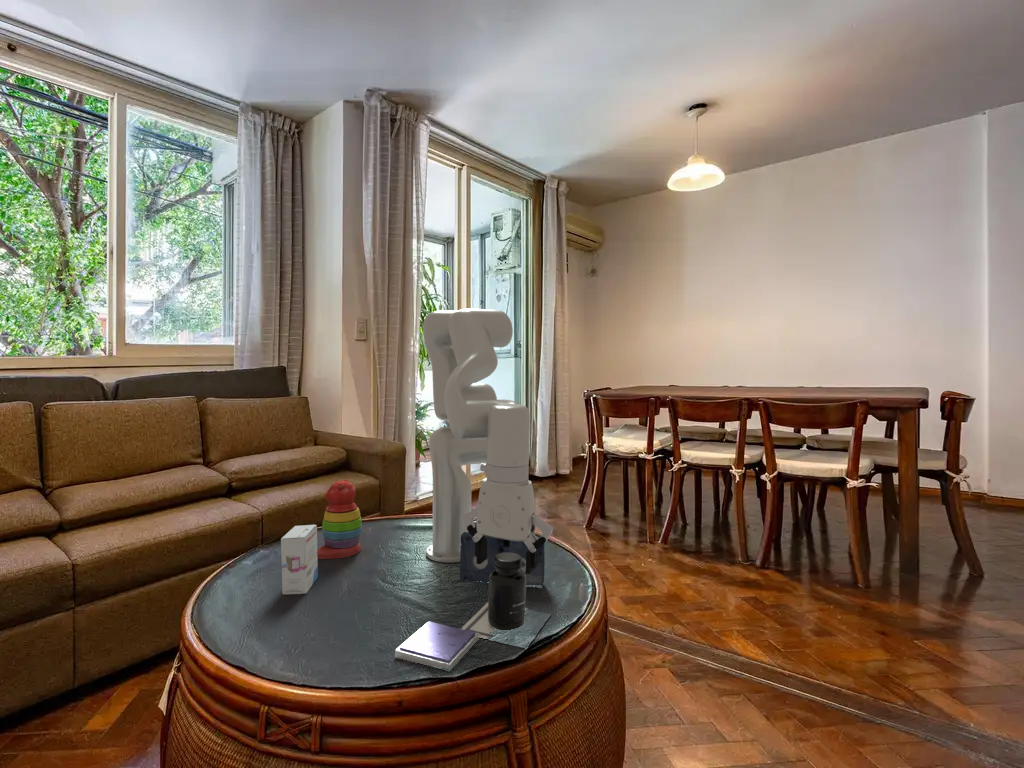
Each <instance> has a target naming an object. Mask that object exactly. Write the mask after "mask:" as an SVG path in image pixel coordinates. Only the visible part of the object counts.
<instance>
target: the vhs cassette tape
mask: <svg viewBox="0 0 1024 768" xmlns="http://www.w3.org/2000/svg"><path fill="white" fill-rule="evenodd" d="M485 538H487V559H486V560H485V561H484V562H482V563H481V564H477V563H476V559H477V557H475V542H474V541H473V537H472V536H471V534H470V533H468V532H464V533H463V534H462V535H461V544H462V545H461V547H460V548H461V550H460V555H461V557H460V562H459V569H460V570H459V572H460V573H459V579H460V581H463V580H467V581H466V582H472V581H479V582H478V583H482V582H489V575H490V573H491V572H492V571H493V570H494V569H495V567H494V563H495V556H496V555H497V554H500V553H507V552H508V553H515V554H518V555H520V556H521V570H522V571H523V572H524V573H525V575H526V585H541V586H542V585H543V583H544V584H545V566H546V565H545V564H546V563H545V559H546V557H545V543H544V544H543V545H542V546H541V547H540V548H538V565H537V567H536V568H535V569H534V570H533V571H532V572H531V573H530V574H527V573H526V552H527V551H528V550H529V549H528V547H527V546H526V545H525V543H524V542H523V541H521V542H518V541H511V540H505V539H499V538H494V537H488V536H485ZM480 581H482V582H480ZM543 586H544V585H543Z"/></svg>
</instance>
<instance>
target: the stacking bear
mask: <svg viewBox="0 0 1024 768" xmlns="http://www.w3.org/2000/svg"><path fill="white" fill-rule="evenodd" d="M356 494H357V490H356V487H355V485H354V484H353V483H352V482H350V481H349V479H347V478H344V480H338V481H335V482H333V483H332V484H331V485H330V487H329V488H328V489H327V490H326V491H325V492H324V494H323V495H324V499H325V500H326V502H327V503H328V505H327V506H326V507H325V511H324V516H323V520H322V526H321V528H322V530H321V532H322V536H323V541H324V545H322V546H321V547H319V548H317V560H334V559H342V558H348V557H352V556H354V555H357V554H359V553H360V551H361V550H362V546H361V543H360V542H359V541H360V538H361V533H362V527H363V526H362V525H363V523H362V516H361V512H360V508H359V507H358V505H357V504H356V503H355V502H354V500H355V497H356Z"/></svg>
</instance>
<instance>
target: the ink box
mask: <svg viewBox="0 0 1024 768" xmlns="http://www.w3.org/2000/svg"><path fill="white" fill-rule="evenodd" d="M317 527H318V526H317V524H306V525H294V526H293V527H292V528H291V529H290V530H289V531H288V532H287V533H286V534H284V535H283V536H282V537H281V538H280V548H281V549H280V550H281V551H280V555H281V586H282V587H281V588H282V589H281V590H282V593H281V594H282V595H303V594H304V595H305V594H307V593H308V592H309V591H310V589H311V587H312V586H313V585H314V583H315V582H316V581H317V579H318V578H319V573H318V572H319V568H318V567H319V565H318V564H319V563H318V559H317V550H318V528H317Z"/></svg>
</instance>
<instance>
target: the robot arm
mask: <svg viewBox="0 0 1024 768" xmlns="http://www.w3.org/2000/svg"><path fill="white" fill-rule="evenodd" d="M423 320H424V321H423V326H422V327H423V328H422V336H423V342H424V345H425V348H426V349H425V350H426V352H427V355H428V357H429V360H430V363H431V371H432V393H433V394H432V395H433V397H432V398H433V399H432V400H433V409H434V414H435V416H436V418H437V419H439V420H441V421H445V422H448V425H449V426H445V427H440V428H437V429H435V430H434V431H433V432H432V433H431V434H430V437H429V440H428V441H429V442H428V445H429V447H428V448H429V453H430V460H431V467H432V468H431V470H432V473H431V474H432V544H430V545H429V546H428V547H426V549H425V556H426V557H427V559H429V560H431V561H435V562H439V563H446V564H448V563H449V564H451V563H452V564H453V563H460V557H461V555H460V550H461V548H460V547H461V545H462V544H461V535H462V534H463V533H464V532H468V533H470V534H471V536H472V537H473V541H474V542H475V557H477V559H476V563H477V564H481V563H482V562H484V561H485V560H486V559H487V538H485V536H488V537H494V538H499V539H505V540H511V541H518V542H521V541H523V542H524V543H525V545H526V546H527V547H528V549H529V550H528V551H527V552H526V573H527V574H530V573H531V572H532V571H533V570H534V569H535V568H536V567H537V565H538V548H540V547H541V546H542V545H543V544H544V545H545V543H546V542H548V539H549V538H550V537H551V535H552V533H553V531H554V527H553V526H552V525H550V524H549V523H547V522H546V521H545V520H544V519H542V518H540V517H539V516H538V515H536V504H535V503H536V501H535V495H534V494H535V493H534V488H533V484H532V481H531V480H529V472H530V471H529V467H530V465H529V464H530V463H529V462H530V459H529V458H530V427H531V426H530V422H531V420H530V418H531V417H530V416H531V415H530V413H531V412H530V410H529V408H528V407H527V406H525V405H523V404H518V402H516V401H515V400H511V399H498V398H497V393H496V391H495V390H494V388H493V387H492V385H490V384H488V383H483V382H480V381H483V380H484V379H487V378H488V377H489V376H491V375H492V374H493V373H494V372H495V371H496V369H497V367H498V364H499V363H498V356H497V353H496V350H495V348H505V347H507V346H509V344H510V342H511V341H512V338H513V332H514V330H513V328H514V327H513V324H512V322H511V318H510V317H509V315H508V314H507V313H506V312H504V311H503V310H500V309H499V310H498V309H497V310H496V309H484V308H482V309H481V308H463V309H459V310H458V309H457V310H453V309H452V310H450V309H449V310H448V309H447V310H445V309H444V310H443V309H442V310H435V311H432V312H429V313H428V314H427V315H426V316H425V318H424V319H423ZM467 465H480V467H479V469H480V471H481V472H484V473H485V478H483V479H482V480H481V483H480V488H479V491H478V492H479V494H478V501H477V505H476V506H477V508H475V509H473V510H472V481H471V479H470V477H469V475H467V473H466V472H465V471H464V470H463V468H462V467H463V466H467ZM474 519H476V521H475V520H474ZM475 522H476V523H475ZM536 528H537V529H539V530H540V531H541V535H540V537H537V536H536V534H535V532H536Z"/></svg>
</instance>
